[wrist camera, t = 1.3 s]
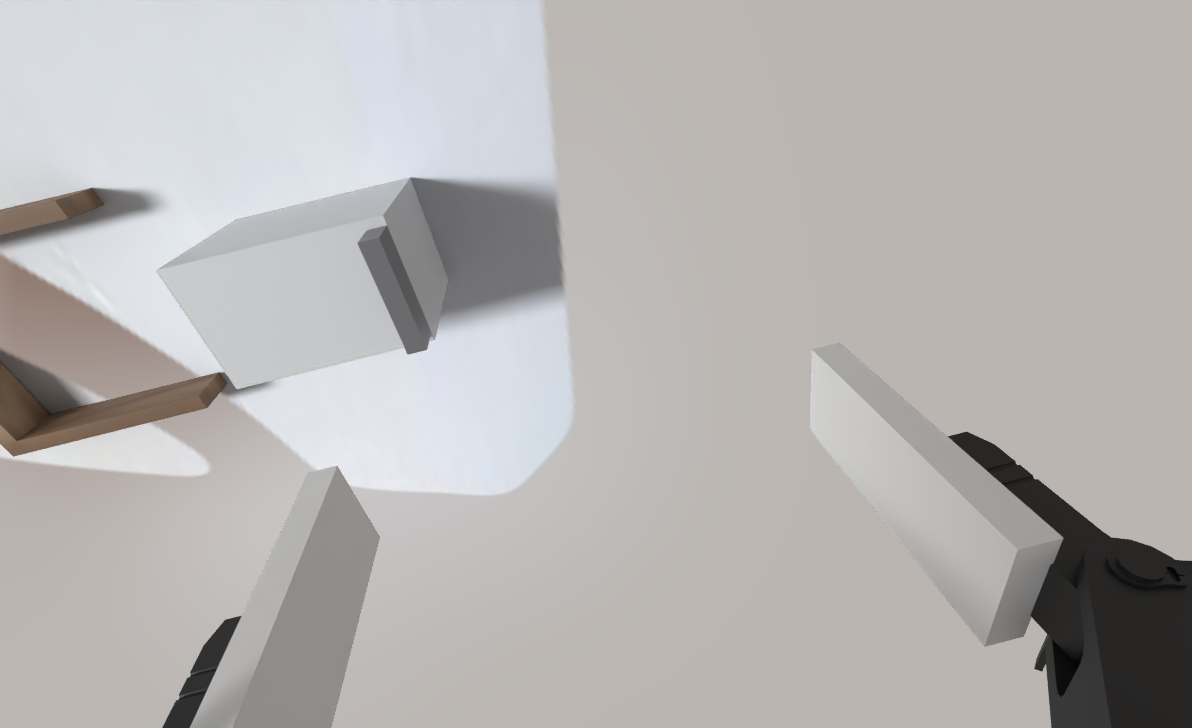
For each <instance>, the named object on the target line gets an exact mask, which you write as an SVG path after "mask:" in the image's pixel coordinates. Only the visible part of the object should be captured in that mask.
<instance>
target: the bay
mask: <svg viewBox="0 0 1192 728" xmlns="http://www.w3.org/2000/svg"><path fill="white" fill-rule="evenodd" d="M102 205H103V203H102V202H101V200H100V199H99V197H98V196H97V195H96V193H95V192H94V190H93V189H92V188H90V189H86V190H81V191H77V192H73V193H69V194H65V195H61V196H56V197H52V198H48V199H44V200H40V201H36V202H31V203H27V204H23V205H19V206H15V207H11V208H6V209H2V210H0V235H3V234H7V233H11V232H15V231H20V230H24V229H28V228H32V227H36V226H40V225H44V224H49V223H53V222H57V221H61V220H65V219H69V218H72V217H74V216H77V215H79V214H82V213H84V212H87V211H90V210H92V209H95V208H97V207H100V206H102ZM226 384H227V383H226V382H225V381H224V379H223V378H222V376H221V375H220V373H215V374H211V375H207V376H203V377H199V378H195V379H191V380H187V381H183V382H179V383H175V384H171V385H167V386H163V387H159V388H155V389H151V390H147V391H143V392H139V393H135V394H131V395H127V396H123V397H119V398H115V399H111V400H107V401H103V402H99V403H95V404H90V405H86V406H82V407H78V408H74V409H70V410H66V411H62V412H58V413H54V414H49V413H48V412H47V411H46V410H45V409H44V407H43V406H42V405H41V404H40V403H39V402H38V401H37V400H36V399H35V398H34V397H33V396H32V395H31V394H30V392H29V391H28V390H27V389H26V388H25V387H24V386H23V385H22V384H21V383H20V382H19V381H18V380H17V379H16V378H15V376H14V375H13V374H12V373H11V372H10V371H9V370H8V369H7V368H6V367H5V366H4V365H3V364H2V363H1V361H0V444H1V445H2V446H3V447H4V448H5V449H6V450H7V451H8V452H9V453H10V454H11V455H12V456H17V455H21V454H25V453H29V452H33V451H37V450H41V449H45V448H49V447H53V446H57V445H61V444H65V443H69V442H73V441H77V440H81V439H85V438H89V437H93V436H97V435H101V434H105V433H109V432H113V431H117V430H121V429H125V428H129V427H133V426H137V425H141V424H145V423H149V422H153V421H157V420H161V419H165V418H169V417H173V416H177V415H181V414H185V413H189V412H193V411H197V410H201V409H205V408H207V407H208V406H209V405H210V404H211V402H212V401H213V400H214V399H215V398H216V397H217V395H218V394H219V393H220V392H221V390H222V389H223V388H224V387H225V386H226Z"/></svg>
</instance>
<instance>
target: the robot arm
mask: <svg viewBox="0 0 1192 728" xmlns="http://www.w3.org/2000/svg"><path fill="white" fill-rule="evenodd" d="M810 430H811V432H812V433H813V434H814V435H815V437H816V438H817V439H818V440H819V441H820V443H821V444H822V445H823V447H824V448H825V449H826V450H827V452H828V453H829V454H830V455H831V457H832V458H833V459H834V460H835V462H836V463H837V464H838V465H839V467H840V468H841V469H842V470H843V471H844V473H845V474H846V475H847V476H848V478H849V479H850V480H851V481H852V483H853V484H854V485H855V486H856V488H857V489H858V490H859V491H860V493H861V494H862V495H863V496H864V498H865V499H866V500H867V501H868V503H869V504H870V505H871V506H872V508H873V509H874V510H875V511H876V513H877V514H878V515H879V516H880V517H881V519H882V520H883V521H884V522H885V524H886V525H887V526H888V527H889V529H890V530H891V531H892V532H893V534H894V535H895V536H896V537H897V539H898V540H899V541H900V542H901V544H902V545H903V546H904V547H905V548H906V550H907V551H908V552H909V554H910V555H911V556H912V557H913V559H914V560H915V561H916V562H917V563H918V564H919V566H920V567H921V568H922V570H923V571H924V572H925V573H926V575H927V576H928V577H929V578H930V580H931V581H932V582H933V583H934V585H935V586H936V587H937V588H938V589H939V591H940V592H941V593H942V595H943V596H944V597H945V598H946V600H947V601H948V602H949V603H950V604H951V606H952V607H953V608H954V609H955V611H956V612H957V613H958V614H959V616H960V617H961V618H962V619H963V621H964V622H965V623H966V624H967V626H968V627H969V628H970V629H971V631H972V632H973V633H974V634H975V636H976V637H977V638H978V639H979V641H980V642H981V643H982V644H983V646H989V645H993V644H997V643H1000V642H1004V641H1008V640H1012V639H1016V638H1020V637H1023V636H1024V634H1025V632H1026V629H1027V627H1028V625H1029V622H1030V619H1031V617H1032V618H1033V619H1034V620H1035V621H1036V622H1037V623H1038V624H1039V625H1040V626H1041V628H1043V630H1044V631H1045V632H1046V633H1047V636H1046V639H1045V641H1044V643H1043V645H1042V648H1041V650H1040V652H1039V654H1038V657H1037V660H1036V664H1035V669H1036V670H1039V671H1042V670H1043V668H1044V666H1045V664H1046V666H1047V667H1046V668H1047V680H1048V691H1049V702H1050V715H1051V727H1052V728H1192V561H1179V560H1174V559H1173V558H1172V557H1170V556H1168V555H1166V554H1164V553H1162V552H1161V551H1159V550H1157V549H1155V548H1153V547H1151V546H1148V545H1145V544H1142V543H1139V542H1136V541H1133V540H1128V539H1119V538H1111V537H1110V536H1108V535H1107V534H1105V533H1104V532H1102V531H1101V530H1100V529H1099V528H1097V527H1096V526H1095V525H1094V524H1092V523H1091V522H1090V521H1089V520H1087V519H1086V518H1085V517H1084V516H1082V515H1081V514H1080V513H1079V512H1078V511H1076V510H1075V509H1073V507H1071V506H1070V505H1069V504H1068V503H1066V502H1065V501H1064V500H1063V499H1061V498H1060V497H1059V496H1058V495H1056V494H1055V493H1054V492H1053V491H1052V490H1050V489H1049V488H1048V487H1047V486H1045V485H1044V484H1043V483H1042V482H1040V481H1039V480H1038V479H1036V480H1035V479H1034V478H1033V475H1032V474H1030V473H1029V472H1028V471H1027V470H1025V469H1024V468H1023V467H1022V466H1021V465H1017V464H1016V463H1015V461H1014V460H1013V459H1012V458H1010V457H1009V456H1008V455H1007V454H1006V453H1004V452H1003V451H1002V450H1001V449H999V448H998V447H997V446H996V445H994V444H992V443H990V442H988V441H986V440H984V439H981V438H979V437H977V436H975V435H973V434H971V433H968V432H964V433H960V434H956V435H952V436H948V437H947V436H946V435H945V434H944V433H943V432H942V431H940V430H939V429H938V428H937V427H936V426H935V425H934V424H933V423H931V422H930V421H929V420H928V419H927V418H926V417H924V416H923V415H922V414H921V413H920V412H919V411H918V410H916V409H915V408H914V407H913V406H912V405H911V404H909V403H908V402H907V401H906V400H905V399H904V398H903V397H902V396H900V395H899V394H898V393H897V392H896V391H895V390H894V389H892V388H891V387H890V386H889V385H888V384H887V383H886V382H884V381H883V380H882V379H881V378H880V377H879V376H878V375H876V374H875V373H874V372H873V371H872V370H871V369H869V368H868V367H867V366H866V365H865V364H864V363H863V362H861V361H860V360H859V359H858V358H857V357H856V356H855V355H853V354H852V353H851V352H850V351H849V350H848V349H847V348H845V347H844V346H843V345H842V344H841V343H837V344H833V345H828V346H824V347H820V348H816V349H812V371H811V406H810ZM379 538H380V537H379V535H378V533H377V531H376V530H375V528H374V526H373V525H372V523H371V522H370V520H369V518H368V516H367V515H366V513H365V511H364V510H363V508H362V506H361V505H360V503H359V501H358V500H357V498H356V496H355V495H354V493H353V491H352V490H351V488H350V486H349V485H348V483H347V481H346V480H345V478H344V476H343V475H342V473H341V471H340V470H339V468H338V466H334V467H330V468H326V469H322V470H318V471H314V472H310V473H308V474H307V476H306V478H305V480H304V482H303V485H302V487H301V489H300V491H299V493H298V496H297V498H296V500H295V502H294V504H293V506H292V508H291V511H290V513H289V515H288V517H287V519H286V522H285V523H284V526H283V528H282V530H281V532H280V534H279V537H278V539H277V541H276V543H275V545H274V547H273V549H272V552H271V554H270V556H269V558H268V560H267V562H266V565H265V567H264V569H263V571H262V573H261V575H260V577H259V580H258V582H257V584H256V586H255V588H254V590H253V593H252V595H251V597H250V599H249V601H248V603H247V606H246V608H245V610H244V612H243V614H242V616H239V617H235V618H231V619H227V620H225V621H224V622H223V623H222V624H221V626H220V627H219V628H218V629H217V630H216V632H215V633H214V634H213V635H212V636H211V638H210V639H209V640H208V641H207V642H206V644H205V645H204V646H203V648H202V650H201V653H200V654H199V656H198V658H197V660H196V662H195V664H194V666H193V668H192V670H191V672H190V673H191V676H190V677H189V678H187V680H186V682H185V684H184V686H183V688H182V690H181V692H180V694H179V696H180V698H179V700H177V701H176V702H175V704H174V706H173V708H172V710H171V712H170V714H169V716H168V718H167V720H166V722H165V724H164V726H163V728H331V726H332V722H333V719H334V715H335V711H336V707H337V703H338V699H339V695H340V691H341V687H342V683H343V680H344V676H345V672H346V667H347V664H348V660H349V656H350V652H351V648H352V644H353V640H354V636H355V632H356V629H357V624H358V621H359V616H360V613H361V609H362V605H363V601H364V597H365V593H366V589H367V585H368V581H369V577H370V573H371V569H372V566H373V562H374V558H375V554H376V550H377V546H378V542H379Z"/></svg>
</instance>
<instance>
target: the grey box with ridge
mask: <svg viewBox="0 0 1192 728" xmlns="http://www.w3.org/2000/svg"><path fill="white" fill-rule="evenodd" d="M156 272H157V273H158V274H159V276H160V277H161V279H162V280H163V282H164V283H165V285H166V286H167V288H168V289H169V291H170V292H171V294H172V295H173V297H174V298H175V299H176V301H177V302H178V304H179V305H180V307H181V308H182V310H183V311H184V313H185V314H186V316H187V317H188V319H189V320H190V322H191V323H192V324H193V326H194V327H195V329H196V330H197V332H198V333H199V335H200V336H201V338H202V339H203V341H204V342H205V344H206V345H207V347H208V348H209V349H210V351H211V352H212V354H213V355H214V357H215V358H216V360H217V361H218V363H219V364H220V366H221V367H222V369H223V370H224V372H225V373H226V374H227V376H228V377H229V379H230V380H231V382H232V383H233V385H234V386H235V388H236V389H241V388H245V387H249V386H253V385H257V384H261V383H265V382H269V381H273V380H277V379H281V378H285V377H289V376H293V375H297V374H301V373H305V372H309V371H313V370H317V369H321V368H325V367H329V366H333V365H337V364H341V363H345V362H349V361H353V360H357V359H361V358H365V357H369V356H373V355H377V354H381V353H385V352H389V351H393V350H397V349H401V348H405V350H406V352H407V354H412V353H416V352H420V351H424V350H427V347H428V343H429V341H433V340H435V337H436V332H437V328H438V324H439V320H440V316H441V311H442V307H443V303H444V299H445V294H446V290H447V286H448V282H449V279H448V276H447V274H446V271H445V268H444V266H443V263H442V260H441V258H440V255H439V252H438V249H437V247H436V244H435V241H434V239H433V236H432V233H431V231H430V228H429V225H428V223H427V220H426V217H425V215H424V212H423V209H422V207H421V204H420V201H419V199H418V196H417V193H416V191H415V188H414V185H413V183H412V180H411V177H410V178H406V179H402V180H397V181H393V182H389V183H385V184H381V185H377V186H373V187H369V188H364V189H360V190H356V191H352V192H348V193H344V194H340V195H336V196H331V197H327V198H323V199H319V200H315V201H311V202H307V203H303V204H298V205H294V206H290V207H286V208H282V209H278V210H274V211H270V212H265V213H261V214H257V215H253V216H249V217H245V218H241V219H237V220H235V221H233V222H232V223H230V224H228V225H227V226H225V227H224V228H222V229H221V230H219V231H217V232H216V233H214V234H213V235H211V236H210V237H208V238H206V239H205V240H203V241H202V242H200V243H199V244H197V245H195V246H194V247H192V248H191V249H189V250H188V251H186V252H184V253H183V254H181V255H180V256H178V257H176V258H175V259H173V260H172V261H170V262H169V263H167V264H165V265H164V266H162V267H161V268H159V269H158V270H156Z"/></svg>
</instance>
